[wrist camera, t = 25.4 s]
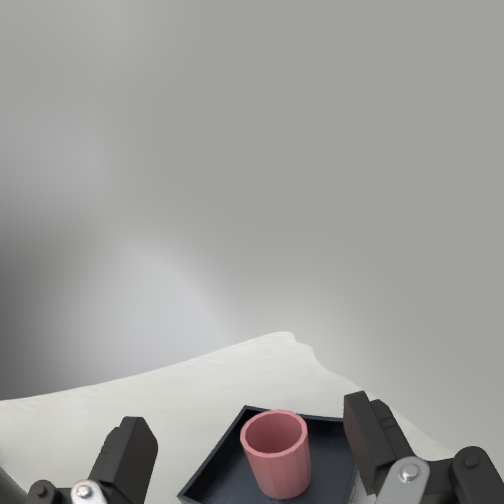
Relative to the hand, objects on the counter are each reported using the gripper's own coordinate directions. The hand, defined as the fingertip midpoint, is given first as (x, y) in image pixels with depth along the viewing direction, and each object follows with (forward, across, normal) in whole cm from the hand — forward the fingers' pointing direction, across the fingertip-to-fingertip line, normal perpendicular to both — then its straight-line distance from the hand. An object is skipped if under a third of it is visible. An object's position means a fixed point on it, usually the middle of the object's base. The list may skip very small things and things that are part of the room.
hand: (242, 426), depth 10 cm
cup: (+11, 0, +24) cm, 26 cm away
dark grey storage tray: (+11, 0, +24) cm, 27 cm away
